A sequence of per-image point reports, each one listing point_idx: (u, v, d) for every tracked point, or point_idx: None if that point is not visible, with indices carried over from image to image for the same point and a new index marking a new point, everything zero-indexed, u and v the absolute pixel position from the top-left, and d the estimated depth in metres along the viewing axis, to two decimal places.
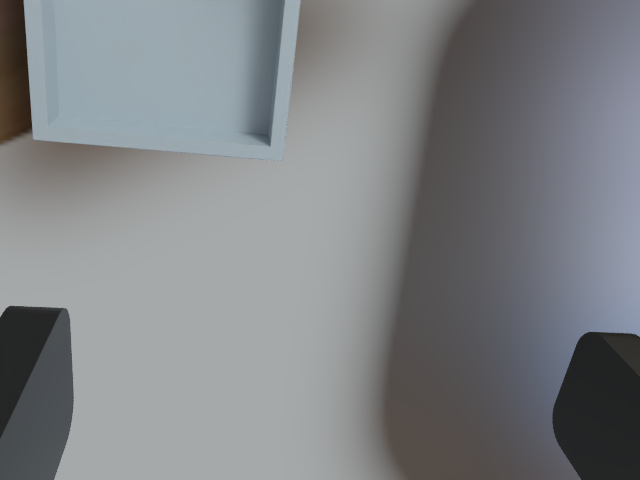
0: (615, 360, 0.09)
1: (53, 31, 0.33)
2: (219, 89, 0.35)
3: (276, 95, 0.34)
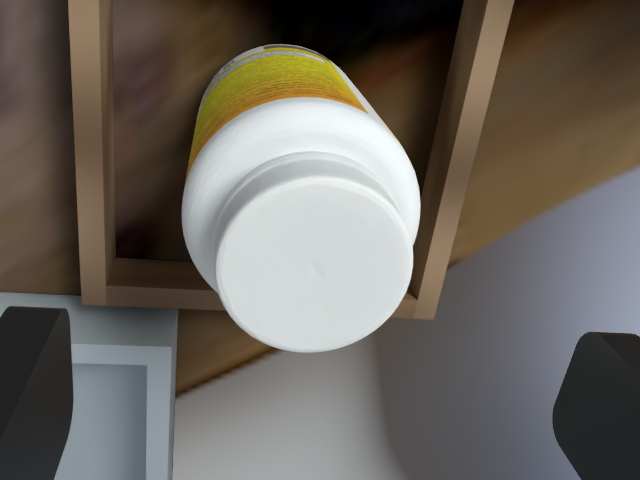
0: (615, 360, 0.09)
1: None
2: None
3: None
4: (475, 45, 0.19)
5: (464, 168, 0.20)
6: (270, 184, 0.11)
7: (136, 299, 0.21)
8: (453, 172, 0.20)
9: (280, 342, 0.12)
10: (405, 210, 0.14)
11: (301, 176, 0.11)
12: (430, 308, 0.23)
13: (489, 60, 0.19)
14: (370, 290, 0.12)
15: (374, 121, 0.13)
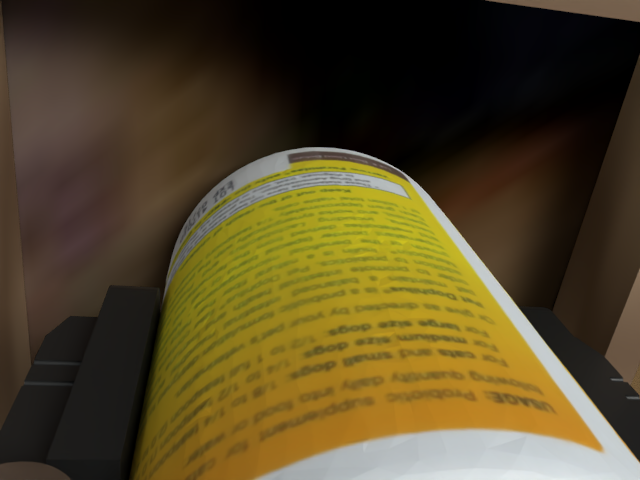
0: None
1: None
2: None
3: None
4: None
5: (631, 353, 0.12)
6: None
7: None
8: (612, 359, 0.12)
9: None
10: None
11: None
12: None
13: None
14: None
15: None
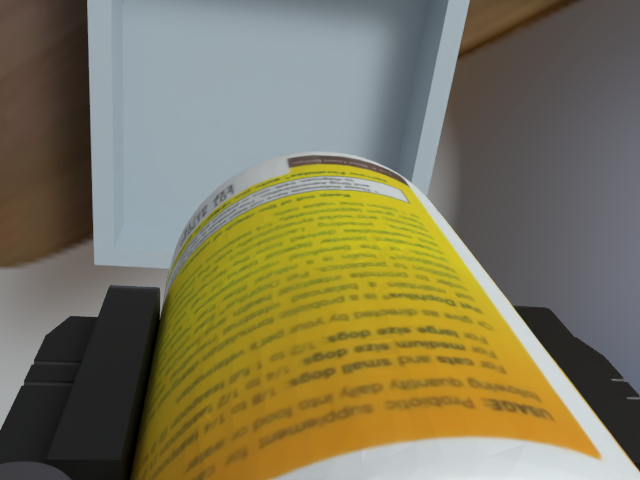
0: None
1: (121, 125, 0.25)
2: None
3: None
4: None
5: None
6: None
7: None
8: None
9: None
10: None
11: None
12: None
13: None
14: None
15: None
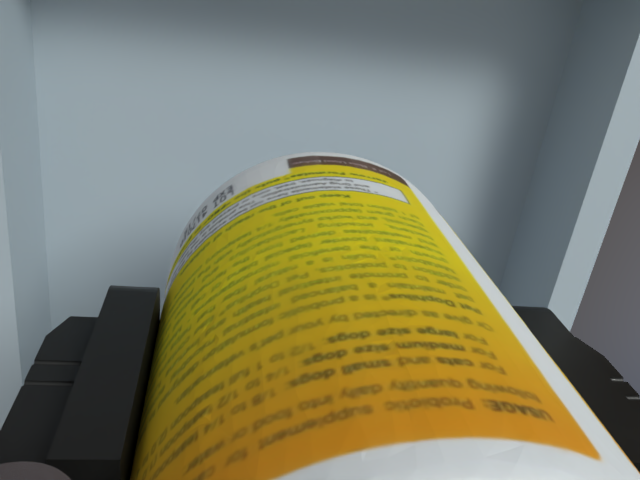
0: None
1: (41, 249, 0.14)
2: None
3: None
4: None
5: None
6: None
7: None
8: None
9: None
10: None
11: None
12: None
13: None
14: None
15: None
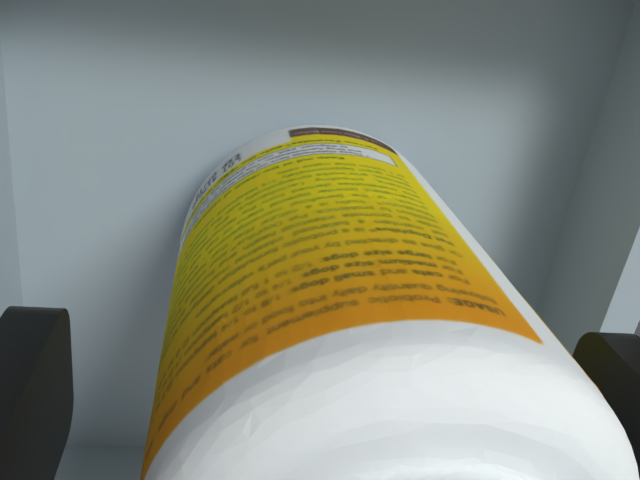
0: (615, 360, 0.09)
1: (15, 290, 0.13)
2: None
3: None
4: None
5: None
6: None
7: None
8: None
9: None
10: None
11: None
12: None
13: None
14: None
15: (565, 370, 0.06)
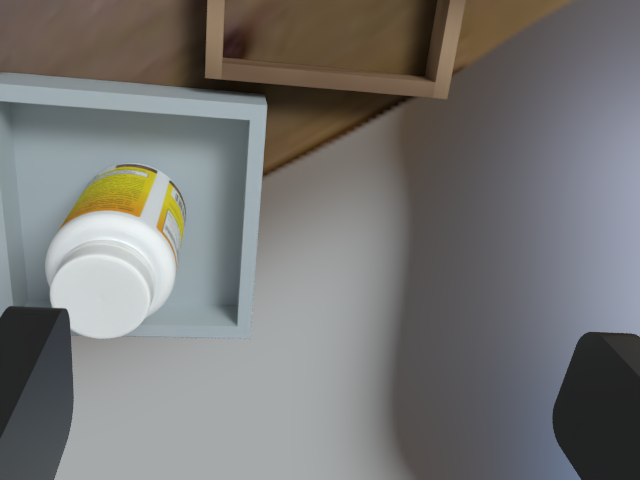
0: (615, 360, 0.09)
1: (19, 228, 0.33)
2: (186, 268, 0.36)
3: (240, 281, 0.34)
4: None
5: None
6: (71, 258, 0.24)
7: (242, 74, 0.30)
8: None
9: (88, 334, 0.25)
10: (161, 265, 0.27)
11: (85, 254, 0.24)
12: (444, 89, 0.32)
13: None
14: (129, 307, 0.25)
15: (139, 221, 0.26)
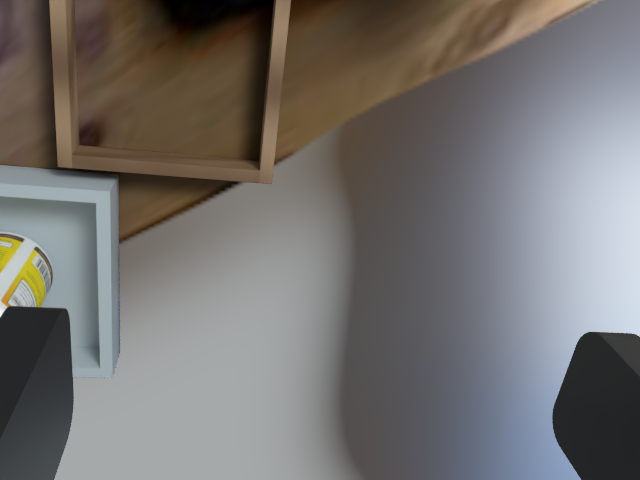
0: (615, 360, 0.09)
1: None
2: None
3: (100, 331, 0.40)
4: (274, 15, 0.34)
5: (277, 87, 0.35)
6: None
7: (89, 164, 0.36)
8: (271, 89, 0.35)
9: None
10: None
11: None
12: (268, 176, 0.38)
13: (282, 23, 0.34)
14: None
15: None
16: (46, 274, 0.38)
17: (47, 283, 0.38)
